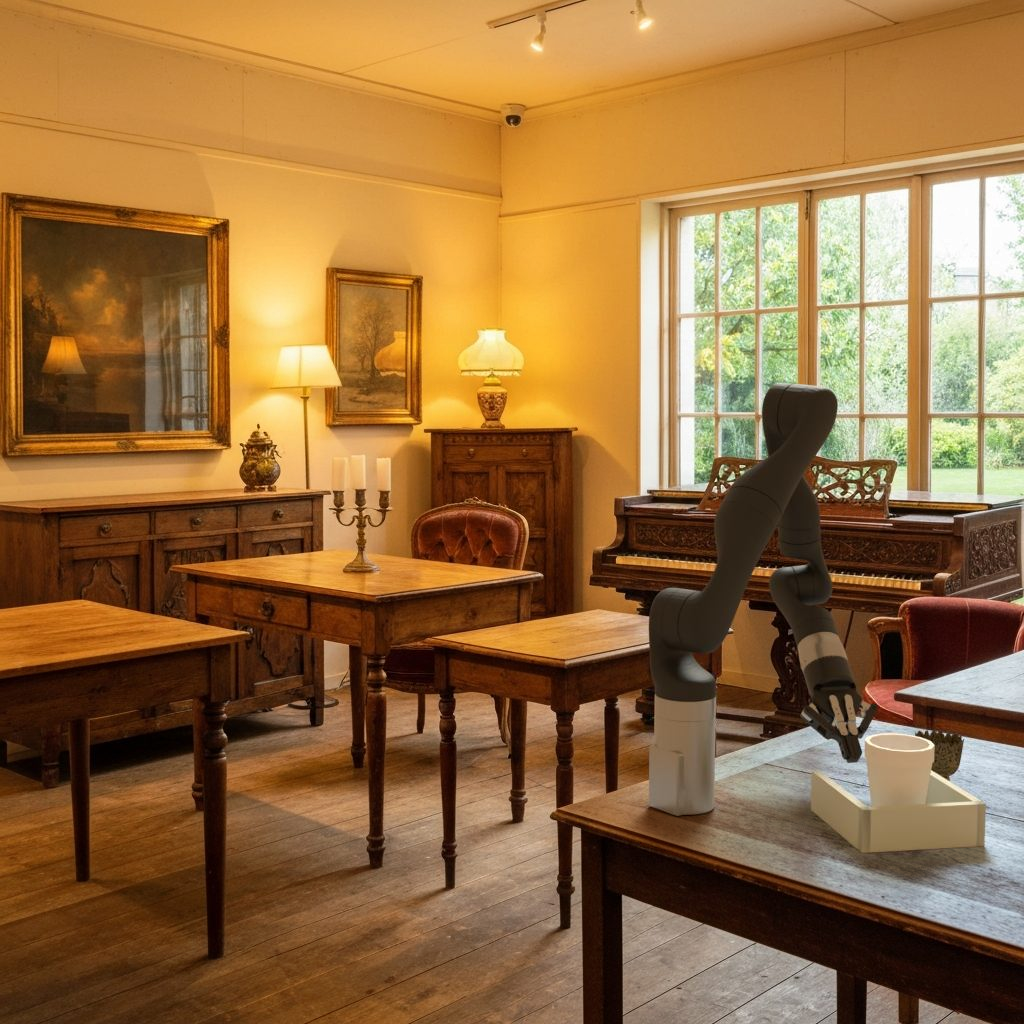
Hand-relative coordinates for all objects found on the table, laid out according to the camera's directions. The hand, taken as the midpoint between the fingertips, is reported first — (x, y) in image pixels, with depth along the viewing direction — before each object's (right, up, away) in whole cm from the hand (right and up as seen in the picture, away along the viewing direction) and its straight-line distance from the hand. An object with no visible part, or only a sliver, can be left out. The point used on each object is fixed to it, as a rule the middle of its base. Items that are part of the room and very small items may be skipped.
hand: (854, 760), depth 191 cm
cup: (+15, -5, +7) cm, 18 cm away
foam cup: (+2, -7, -15) cm, 17 cm away
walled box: (+2, -7, -14) cm, 15 cm away
